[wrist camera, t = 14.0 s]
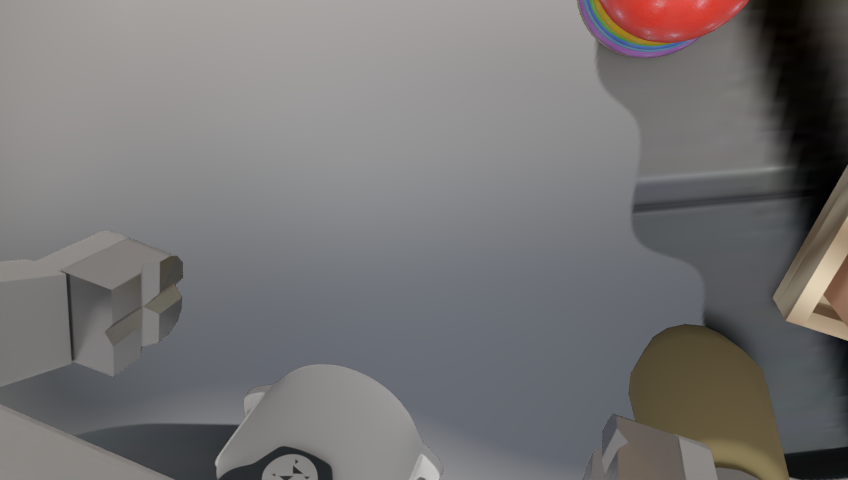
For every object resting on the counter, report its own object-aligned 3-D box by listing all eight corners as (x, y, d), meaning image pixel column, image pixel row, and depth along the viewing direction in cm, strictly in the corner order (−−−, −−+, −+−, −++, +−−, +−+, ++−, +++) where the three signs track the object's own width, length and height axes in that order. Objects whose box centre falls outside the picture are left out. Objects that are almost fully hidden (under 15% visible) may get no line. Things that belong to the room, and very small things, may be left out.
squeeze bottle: (776, 384, 39) (899, 655, 23) (661, 422, 42) (698, 681, 26) (718, 288, 37) (804, 504, 21) (604, 337, 41) (605, 553, 25)
